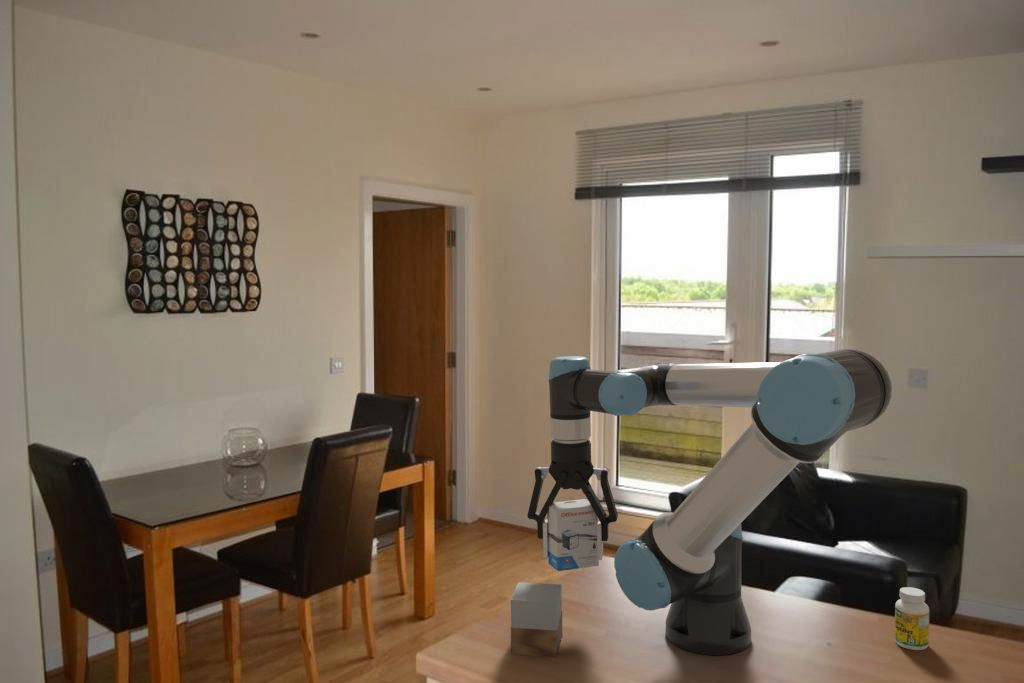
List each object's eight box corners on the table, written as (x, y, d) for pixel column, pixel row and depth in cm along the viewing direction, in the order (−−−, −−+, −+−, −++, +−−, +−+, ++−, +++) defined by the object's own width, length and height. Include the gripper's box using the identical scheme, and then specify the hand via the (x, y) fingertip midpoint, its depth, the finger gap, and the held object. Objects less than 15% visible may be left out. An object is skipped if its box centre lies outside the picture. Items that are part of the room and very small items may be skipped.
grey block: (561, 610, 146) (561, 584, 146) (556, 630, 138) (556, 602, 138) (518, 608, 147) (518, 582, 147) (511, 627, 140) (510, 599, 139)
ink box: (557, 572, 148) (555, 510, 147) (547, 563, 152) (545, 503, 151) (599, 566, 150) (598, 504, 149) (588, 557, 155) (587, 498, 154)
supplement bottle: (935, 647, 140) (937, 594, 139) (913, 653, 138) (914, 599, 137) (909, 634, 145) (910, 583, 144) (887, 640, 143) (888, 588, 142)
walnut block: (562, 637, 146) (562, 611, 146) (556, 658, 139) (556, 630, 138) (519, 634, 148) (519, 608, 148) (511, 654, 140) (510, 627, 140)
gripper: (631, 436, 151) (633, 552, 153) (516, 434, 155) (519, 547, 157) (629, 444, 144) (631, 565, 145) (508, 442, 148) (511, 560, 150)
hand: (573, 556), depth 151 cm, fingers closed on ink box, 9 cm apart
